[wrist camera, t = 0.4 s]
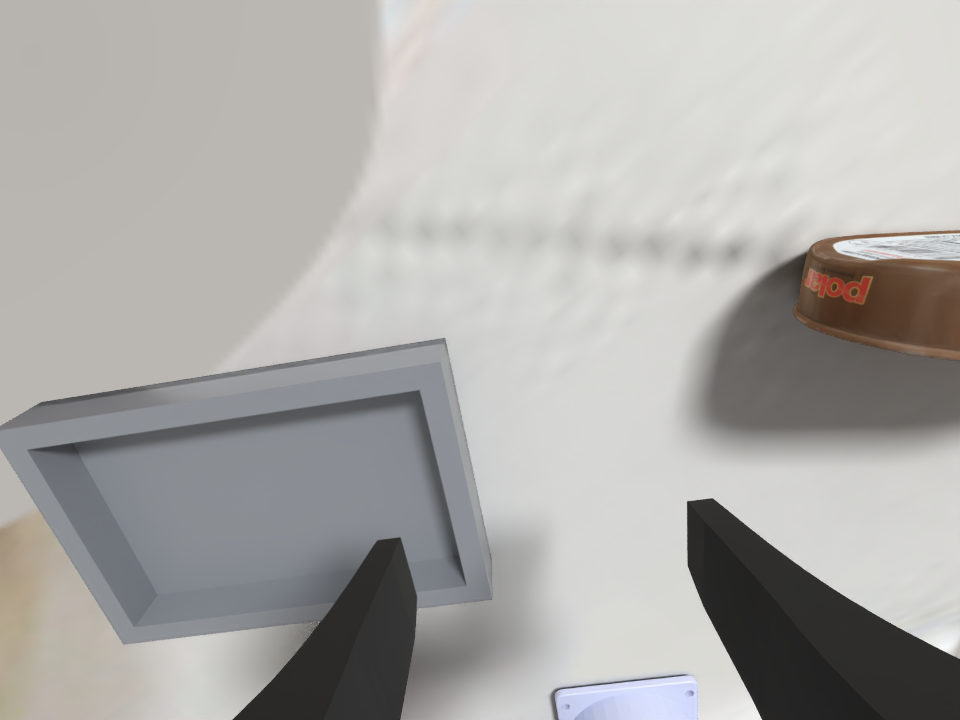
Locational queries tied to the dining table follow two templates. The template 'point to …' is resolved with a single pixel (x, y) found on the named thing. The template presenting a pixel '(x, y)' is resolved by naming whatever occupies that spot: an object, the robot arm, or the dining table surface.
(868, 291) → the tin
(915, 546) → the dining table surface
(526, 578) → the dining table surface
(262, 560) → the tray
